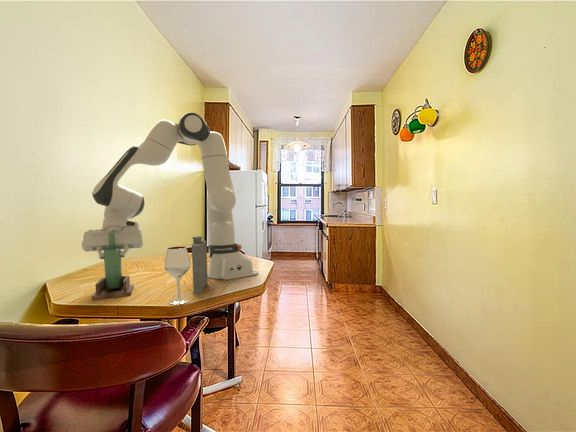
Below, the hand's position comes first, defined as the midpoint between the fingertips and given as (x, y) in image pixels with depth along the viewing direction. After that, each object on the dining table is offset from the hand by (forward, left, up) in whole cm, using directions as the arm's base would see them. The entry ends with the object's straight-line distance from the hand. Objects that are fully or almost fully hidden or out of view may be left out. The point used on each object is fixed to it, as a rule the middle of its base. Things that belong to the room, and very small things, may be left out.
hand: (112, 257), depth 114 cm
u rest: (0, -1, -13) cm, 14 cm away
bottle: (0, -1, -11) cm, 11 cm away
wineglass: (-22, +21, -14) cm, 34 cm away
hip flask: (-30, +7, -14) cm, 34 cm away
